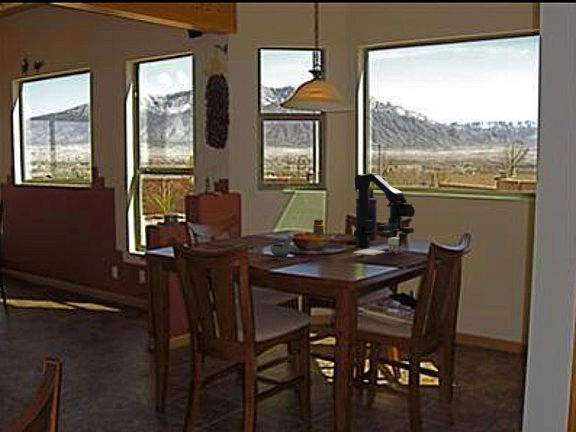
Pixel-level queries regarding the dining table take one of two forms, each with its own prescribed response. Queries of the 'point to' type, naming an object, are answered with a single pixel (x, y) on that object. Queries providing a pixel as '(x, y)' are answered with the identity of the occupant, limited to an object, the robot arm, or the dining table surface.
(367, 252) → the mat
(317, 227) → the condiment
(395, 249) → the stool
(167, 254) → the dining table surface
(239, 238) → the dining table surface
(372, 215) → the dark blue bottle
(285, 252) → the mortar and pestle
